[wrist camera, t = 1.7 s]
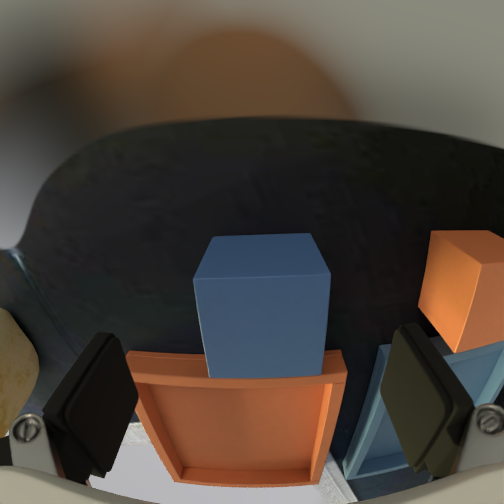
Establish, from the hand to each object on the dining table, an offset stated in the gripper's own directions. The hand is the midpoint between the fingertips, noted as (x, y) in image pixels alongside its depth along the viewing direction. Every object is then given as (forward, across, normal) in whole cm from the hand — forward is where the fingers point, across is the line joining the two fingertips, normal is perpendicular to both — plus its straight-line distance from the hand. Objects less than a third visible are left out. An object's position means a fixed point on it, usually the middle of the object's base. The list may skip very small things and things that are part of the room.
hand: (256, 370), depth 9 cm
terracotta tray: (+6, +2, +11) cm, 13 cm away
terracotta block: (+6, -11, -1) cm, 13 cm away
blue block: (+6, 0, -1) cm, 6 cm away
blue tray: (+6, -13, +11) cm, 19 cm away
